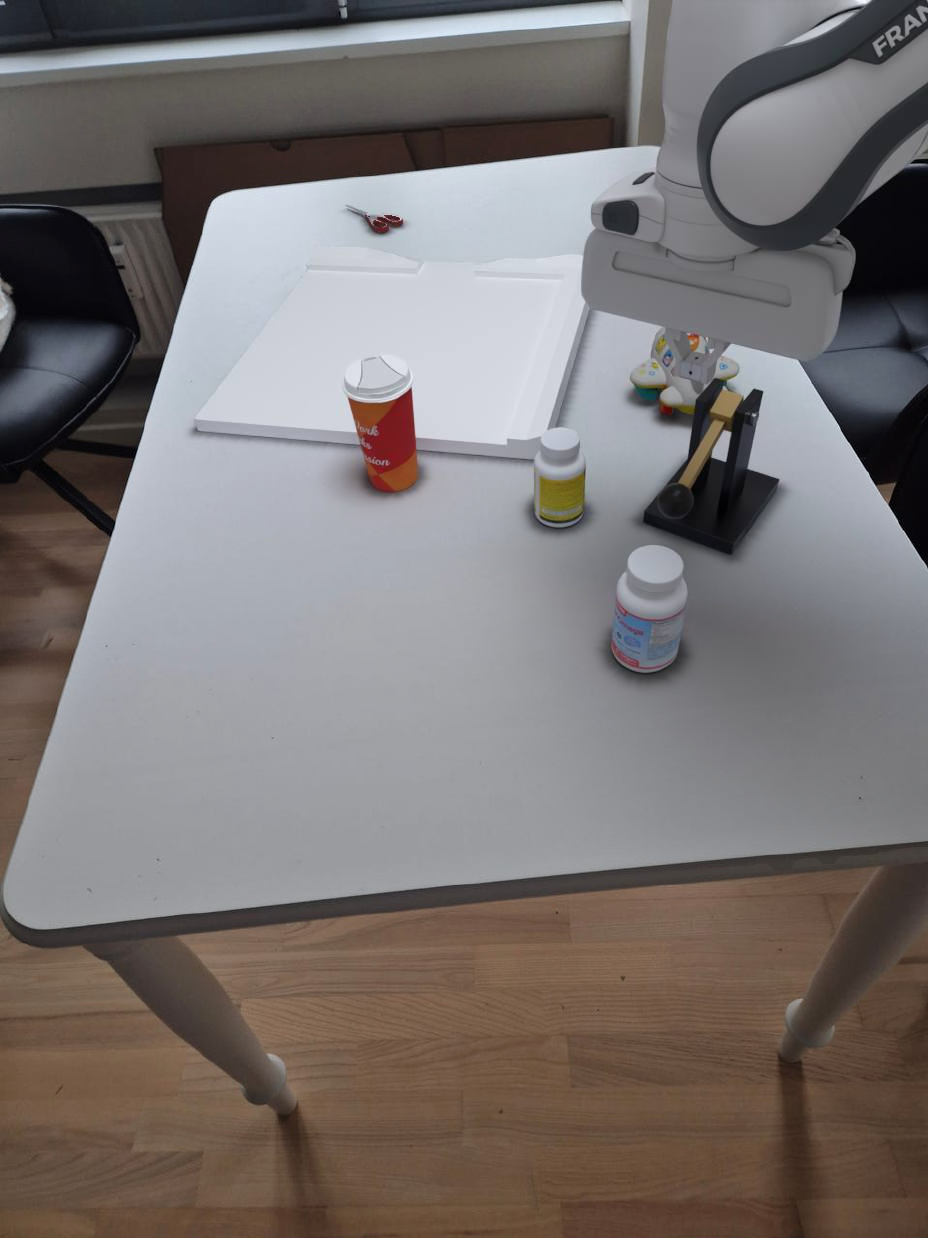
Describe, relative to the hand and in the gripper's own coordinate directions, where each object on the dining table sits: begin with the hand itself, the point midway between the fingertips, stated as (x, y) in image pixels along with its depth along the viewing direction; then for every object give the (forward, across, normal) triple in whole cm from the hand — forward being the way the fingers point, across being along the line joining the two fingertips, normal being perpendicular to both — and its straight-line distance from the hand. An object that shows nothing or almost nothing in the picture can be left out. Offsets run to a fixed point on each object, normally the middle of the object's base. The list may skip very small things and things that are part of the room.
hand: (694, 377), depth 72 cm
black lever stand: (+21, 0, -10) cm, 24 cm away
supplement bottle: (+21, +14, -1) cm, 25 cm away
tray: (+21, +49, -21) cm, 57 cm away
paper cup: (+21, +34, +3) cm, 40 cm away
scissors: (+21, +83, -52) cm, 100 cm away
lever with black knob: (+13, 0, -5) cm, 14 cm away
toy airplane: (+21, +12, -28) cm, 37 cm away
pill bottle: (+22, -3, +12) cm, 25 cm away
